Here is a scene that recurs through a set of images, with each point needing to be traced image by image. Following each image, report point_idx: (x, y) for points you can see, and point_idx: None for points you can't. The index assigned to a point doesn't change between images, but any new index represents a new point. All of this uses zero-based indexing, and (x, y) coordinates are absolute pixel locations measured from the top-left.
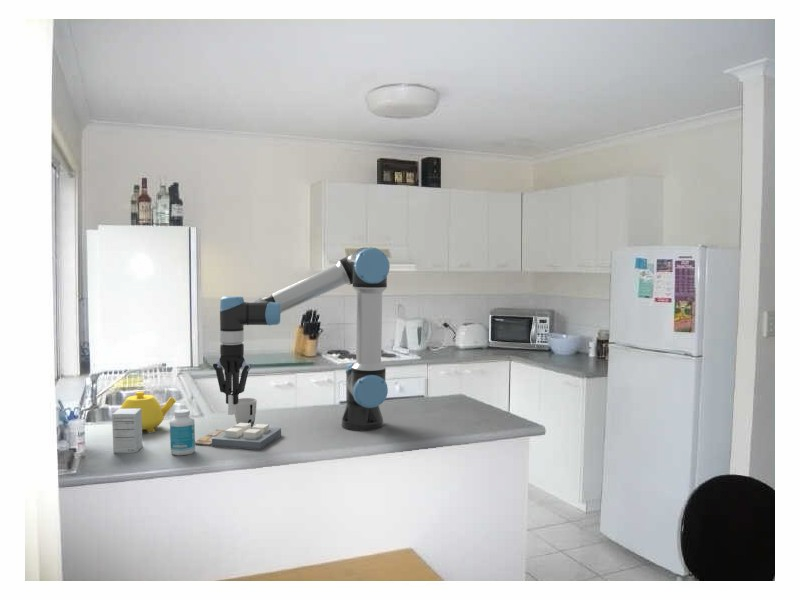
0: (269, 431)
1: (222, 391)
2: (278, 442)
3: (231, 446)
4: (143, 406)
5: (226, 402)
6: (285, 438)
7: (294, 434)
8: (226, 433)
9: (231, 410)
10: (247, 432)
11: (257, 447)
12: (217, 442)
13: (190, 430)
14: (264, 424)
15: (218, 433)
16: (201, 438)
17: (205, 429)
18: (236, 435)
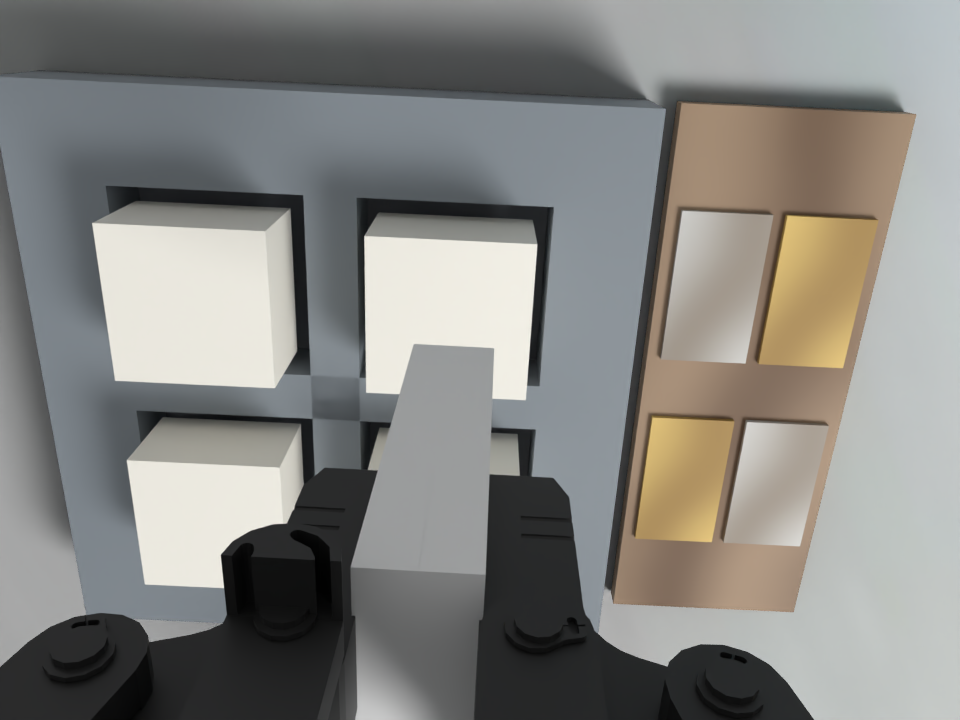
0: None
1: (697, 664)
2: (14, 367)
3: (398, 90)
4: None
5: (553, 492)
6: (29, 498)
7: (24, 619)
8: (514, 235)
9: (422, 375)
10: (206, 229)
11: (58, 72)
12: (581, 100)
13: None
14: (192, 577)
15: (731, 497)
16: (854, 290)
17: (922, 633)
18: (375, 224)
